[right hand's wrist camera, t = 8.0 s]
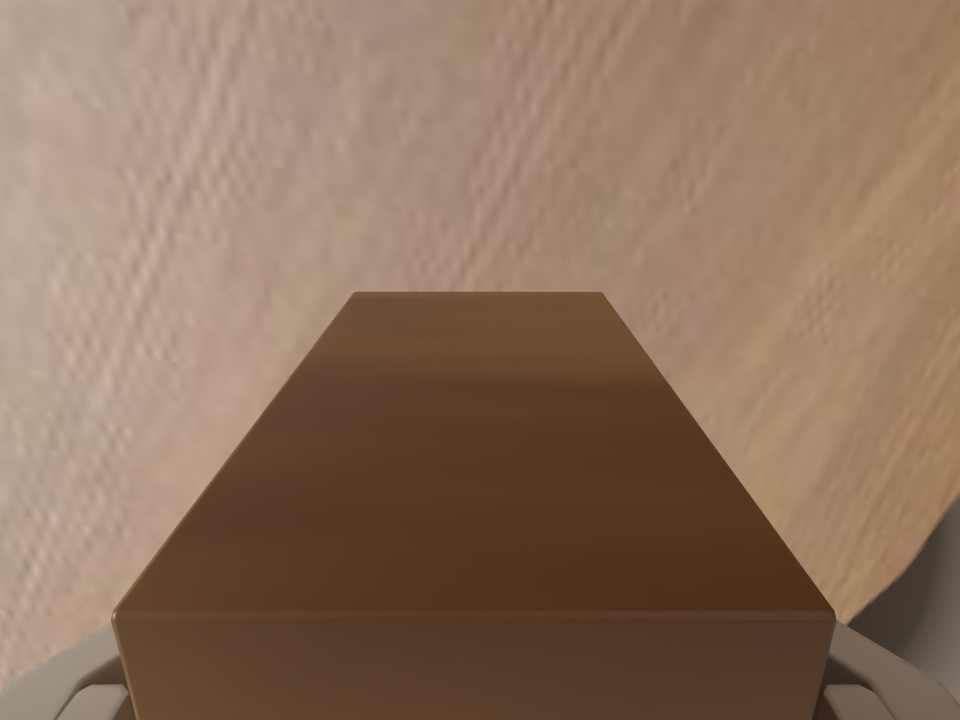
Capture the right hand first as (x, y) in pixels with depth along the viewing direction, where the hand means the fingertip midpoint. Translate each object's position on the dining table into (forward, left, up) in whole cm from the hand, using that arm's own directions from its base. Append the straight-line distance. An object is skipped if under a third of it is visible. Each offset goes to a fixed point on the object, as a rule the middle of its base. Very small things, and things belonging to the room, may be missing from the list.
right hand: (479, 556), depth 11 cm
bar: (+8, 0, -4) cm, 9 cm away
